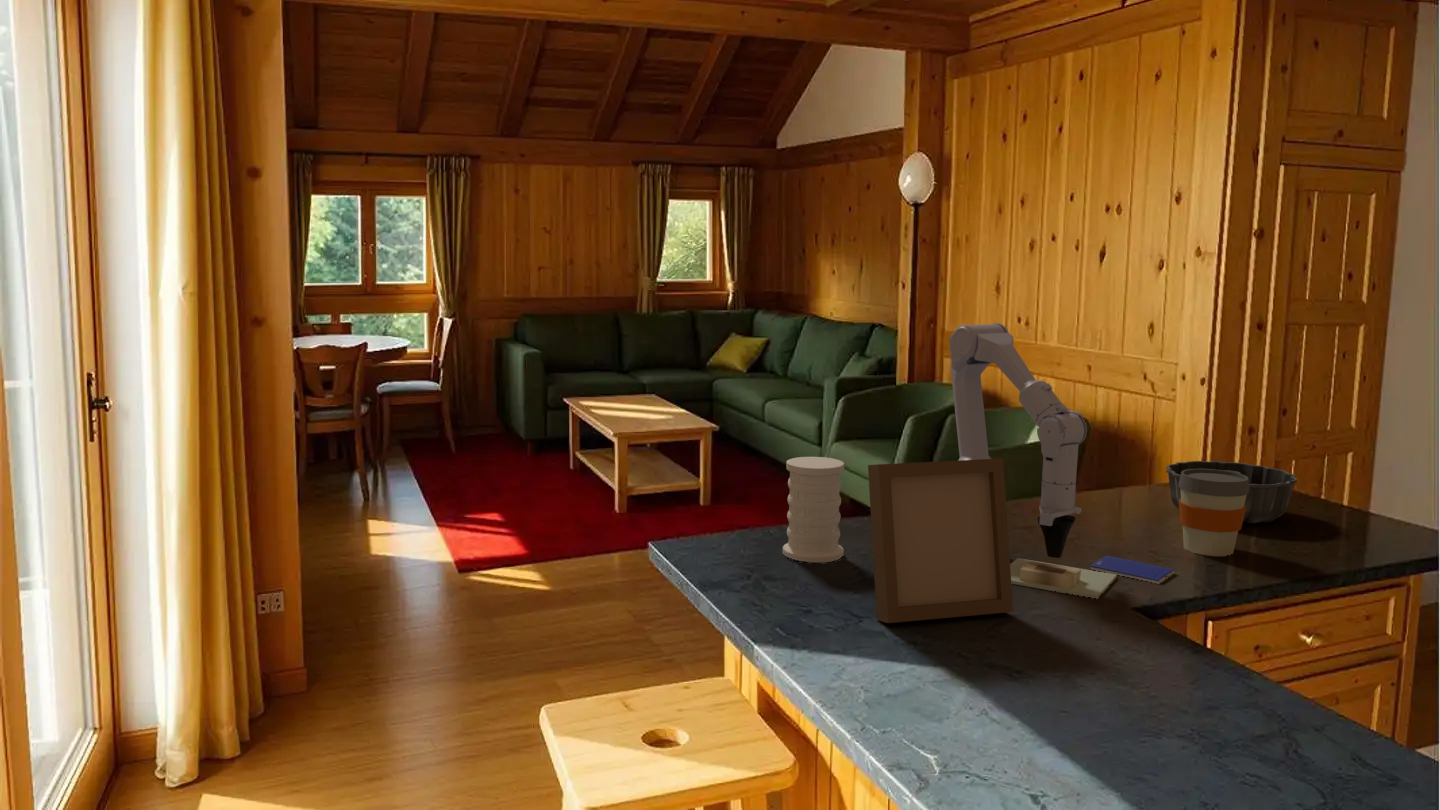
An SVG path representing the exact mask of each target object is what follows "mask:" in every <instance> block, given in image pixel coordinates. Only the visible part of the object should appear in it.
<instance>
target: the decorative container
mask: <svg viewBox="0 0 1440 810" xmlns="http://www.w3.org/2000/svg"><path fill="white" fill-rule="evenodd" d="M785 467H786V470H787V471H788V472H789V478H788V481H787V486H788V489H789V494H788V496H787V504H788V506H789V507H788V509H789V510H788V511H787V514H786V517H787V521H788V527H787V528H786V535H787V538H788V542H787V543H785V544H784V545H783V546H782V555H783V554H784V555H785V556H787V557H789V558H792V559H795V560H799V561H806V562H830V561H834V560H838V559H840V558H841V557H842V556H843V557H844V547H842V545H840V544H839V539H840V536H841V529H840V528H839V523H840V521H841V517H842V516H841V513H840V506H841V504H842V497H841V495H840V490H841V488H842V485H843V484H842V480H841V475H840V474H841V473H843V472H844V471H845V462H844V461H842V460H840V459H837V458H833V457H832V458H831V457H825V456H800V457H793V458H789V459H788V460H786V466H785ZM840 560H841V559H840ZM838 561H839V560H838Z"/></svg>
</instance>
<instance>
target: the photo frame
mask: <svg viewBox="0 0 1440 810" xmlns="http://www.w3.org/2000/svg"><path fill="white" fill-rule="evenodd" d="M958 460H959V459H958ZM958 460H943V461H941V460H940V461H923V462H921V461H920V462H900V463H882V464H881V463H880V464H867V470H868V471H867V472H868V487H869V488H868V489H869V506H870V508H869V509H870V521H871V522H870V523H871V540H872V543H871V544H872V556H873V557H872V558H873V575H874V591H875V593H874V594H875V607H876V609H875V611H876V620H877V621H879V622H881V623H887V624H893V623H895V624H896V623H905V622H915V621H918V622H919V621H926V620H929V621H930V620H938V619H948V618H949V619H950V618H951V619H952V618H960V617H973V616H980V615H981V616H982V615H993V614H1005V613H1013V612H1014V606H1013V605H1014V602H1013V589H1012V587H1013V586H1012V585H1013V584H1011V570H1010V564H1011V555H1010V542H1009V530H1008V529H1009V528H1008V525H1009V524H1008V514H1007V501H1006V499H1007V497H1006V481H1005V471H1004V470H1005V469H1004V468H1005V466H1004V458H991V459H979V460H959V461H958Z"/></svg>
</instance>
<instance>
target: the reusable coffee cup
mask: <svg viewBox="0 0 1440 810" xmlns="http://www.w3.org/2000/svg"><path fill="white" fill-rule="evenodd" d="M1179 487H1180V489H1181V499H1179V509H1178V510H1179V524H1181V525H1182V534H1183V535H1182V539H1183V549H1184V550H1186V549H1187V550H1189V551H1188V552H1190V551H1191V553H1194V554H1196V553H1197V555H1201V556H1208V557H1228V556H1227V555H1229V556H1232V555H1233V554H1234V551H1235V547H1236V542H1237V537H1238V534H1239V531H1241V530H1242V526H1243V522H1244V521H1243V519H1244V514H1245V510H1246V506H1245V505H1244V504H1245V500H1246V495H1247V494H1248V493H1249V481H1248V477H1247V476H1245V475H1242V474H1239V473H1235V472H1230V471H1224V470H1216V469H1187V470H1183V471H1182V472H1181V476H1180V481H1179ZM1187 550H1186V551H1187ZM1231 554H1232V555H1231Z"/></svg>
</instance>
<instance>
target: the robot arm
mask: <svg viewBox="0 0 1440 810" xmlns="http://www.w3.org/2000/svg"><path fill="white" fill-rule="evenodd" d="M948 342H949V351H950V352H949V353H950V360H951V361H950V374H951V382H952V394H953V404H954V405H953V406H954V413H955V424H956V433H957V442H958V453H959V459H958V460H957V461H959V460H979V459H992V458H991V456H989V446H988V445H989V444H988V437H987V425H986V416H985V407H984V397H983V387H982V378H981V377H982V374H983V372H984V371H985V370H986V369H987V367H989V366H990V365H992V364H995V365H996V366H997V368H998V369H999V370H1000V371H1001V372H1002V373H1003V374H1004V376H1006V378H1007V379H1008V380H1009V381H1010V382H1011V383H1012V384H1013V385H1014V387H1015V388H1016V389H1017V390H1018V391H1019V394H1018V401H1019V403H1020V405H1021V406H1022V407H1023V409H1024V410H1025V411H1026V413H1028V415H1029V417H1030V418H1031V419H1032V420H1033V422H1034V423H1035V424H1036V425H1037V428H1036V434H1037V437H1038V440H1039V442H1040V446H1041V449H1040V450H1041V451H1040V452H1041V454H1042V457H1043V460H1042V461H1043V462H1042V473H1041V475H1042V476H1041V495H1040V503H1039V505H1038V506H1039V507H1038V509H1039V516H1038V517H1037V523H1038V525H1039V528H1040V529H1041V531H1042V534H1043V538H1044V543H1045V545H1044V546H1045V549H1046V554H1047V557H1049V558H1055V559H1060V558H1061V557H1062V556H1063V552H1064V549H1065V545H1066V542H1067V538H1068V535H1069V533H1070V530H1071V528H1072V526H1073V524H1074V523H1075V522H1076V516H1073V514H1077V515H1079V514H1081V513H1082V508H1081V507H1078V506H1076V490H1077V489H1076V488H1077V471H1078V470H1077V469H1078V459H1079V458H1078V457H1079V445H1080V444H1082V443H1083V442H1084V440H1085V439H1086V437H1087V432H1088V428H1087V423H1086V421H1085V419H1084V417H1083V415H1082V414H1080V413H1079V412H1077V411H1072V410H1071V409H1070V408H1068V407H1067V406H1066V405H1065V404H1063V403H1062V401H1061V400H1060V398H1059V397H1058V396H1057V395H1056V393H1055V392H1054V391H1053V387H1052V385H1051V384H1050V383H1047V382H1046V381H1045V380H1036V378H1035V376H1034V375H1033V374H1032V372H1031V370H1030V368H1028V366H1027V365H1026V363H1025V361H1024V360H1023V358H1022V356H1021V355H1020V354H1019V352H1018V351H1017V349H1016V347H1015V346H1014V336H1013V335H1012V334H1011V333H1010V332H1009V330H1008V328H1007V326H1005V325H1004V324H1002V323H999V322H998V323H997V322H996V323H992V324H991V323H990V324H989V323H988V324H961V325H959V326H957V327H956V328H955V330H953V332H952V333H951V335H950V337H949V338H948Z"/></svg>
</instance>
